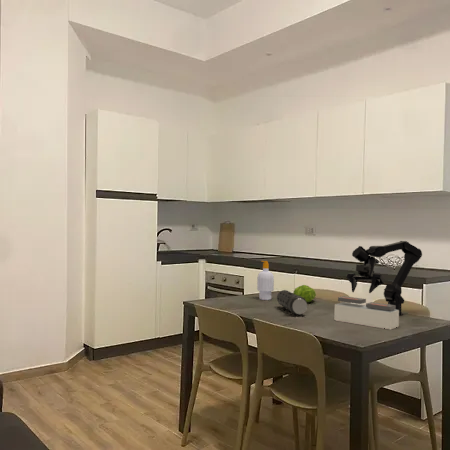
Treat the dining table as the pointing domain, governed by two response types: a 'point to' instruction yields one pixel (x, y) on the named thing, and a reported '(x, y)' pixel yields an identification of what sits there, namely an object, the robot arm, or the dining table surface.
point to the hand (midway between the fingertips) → (361, 292)
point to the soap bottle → (265, 282)
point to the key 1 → (351, 300)
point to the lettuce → (305, 292)
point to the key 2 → (380, 306)
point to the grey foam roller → (292, 302)
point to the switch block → (366, 315)
